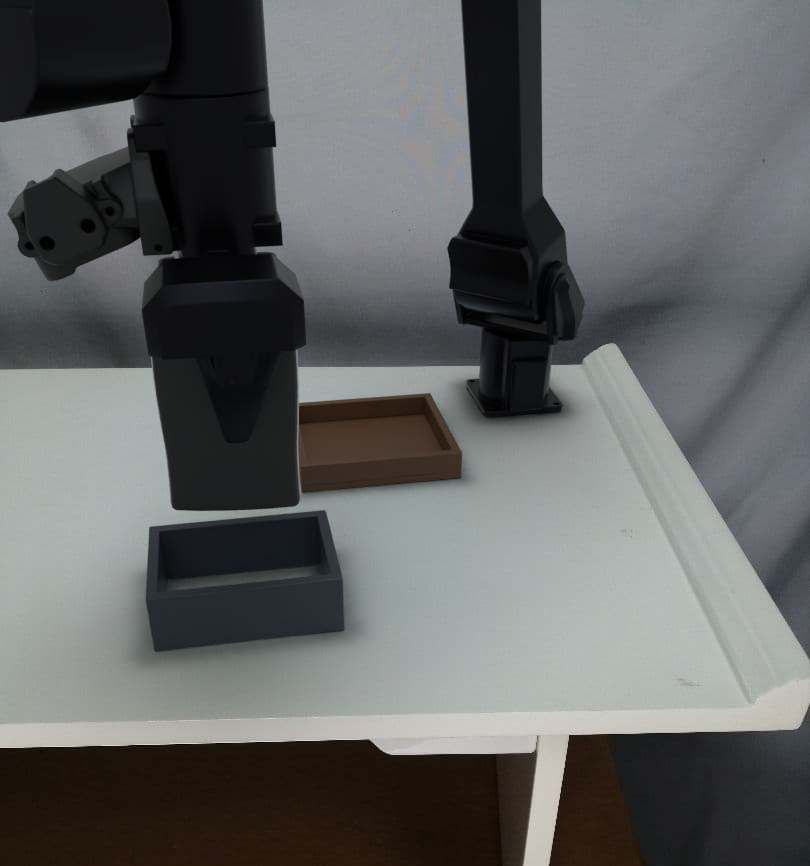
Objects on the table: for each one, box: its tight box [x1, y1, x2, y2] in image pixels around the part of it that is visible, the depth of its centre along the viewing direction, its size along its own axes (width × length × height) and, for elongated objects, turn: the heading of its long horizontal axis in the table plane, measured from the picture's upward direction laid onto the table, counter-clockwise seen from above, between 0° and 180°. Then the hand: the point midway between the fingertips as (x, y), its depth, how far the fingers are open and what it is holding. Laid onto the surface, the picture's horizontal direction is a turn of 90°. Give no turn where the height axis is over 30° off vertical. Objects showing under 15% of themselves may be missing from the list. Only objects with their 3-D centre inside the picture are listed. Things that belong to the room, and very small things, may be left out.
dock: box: [145, 509, 345, 653], centre depth 53 cm, size 7×10×4 cm
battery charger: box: [150, 349, 302, 512], centre depth 48 cm, size 7×4×11 cm, turn 96°
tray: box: [298, 392, 463, 493], centre depth 69 cm, size 10×11×2 cm
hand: (234, 421), depth 49 cm, fingers closed on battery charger, 4 cm apart
